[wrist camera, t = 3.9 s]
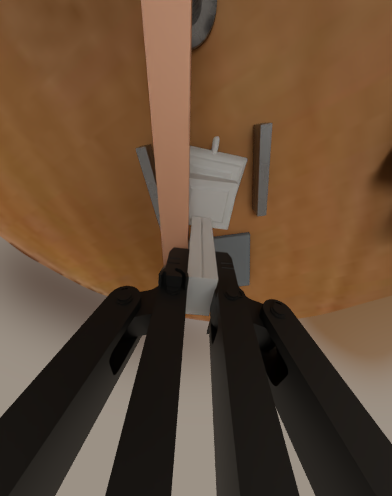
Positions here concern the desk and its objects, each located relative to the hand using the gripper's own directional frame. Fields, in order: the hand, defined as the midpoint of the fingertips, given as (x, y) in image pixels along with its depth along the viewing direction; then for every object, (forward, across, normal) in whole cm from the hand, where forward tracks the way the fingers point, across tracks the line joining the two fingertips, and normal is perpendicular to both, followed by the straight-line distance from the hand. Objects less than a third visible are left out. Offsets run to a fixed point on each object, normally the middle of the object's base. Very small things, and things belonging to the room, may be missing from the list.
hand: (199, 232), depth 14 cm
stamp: (+10, 0, +2) cm, 10 cm away
